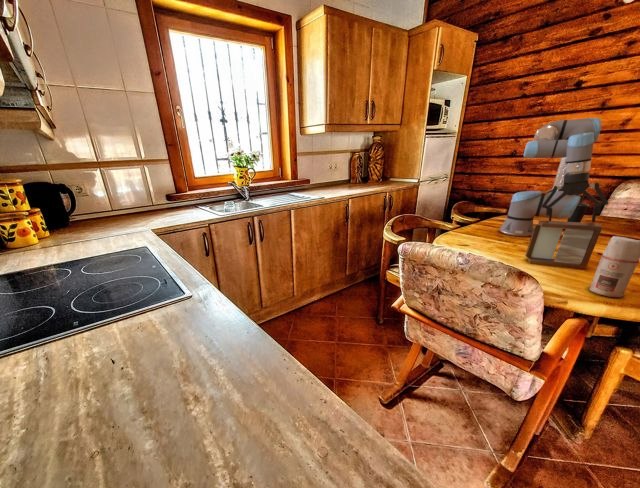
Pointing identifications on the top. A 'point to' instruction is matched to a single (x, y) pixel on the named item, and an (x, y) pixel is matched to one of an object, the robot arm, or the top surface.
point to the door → (543, 242)
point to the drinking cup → (578, 212)
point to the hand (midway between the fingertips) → (570, 222)
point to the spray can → (616, 267)
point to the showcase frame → (572, 244)
